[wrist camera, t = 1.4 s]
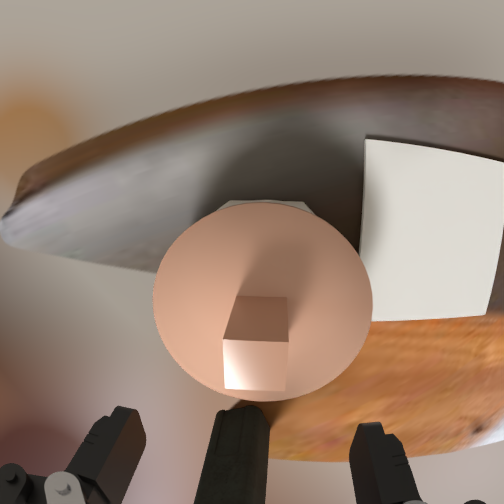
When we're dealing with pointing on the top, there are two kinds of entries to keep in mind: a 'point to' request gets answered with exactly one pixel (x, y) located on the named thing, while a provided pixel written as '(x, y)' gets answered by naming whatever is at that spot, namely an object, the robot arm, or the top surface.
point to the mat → (430, 230)
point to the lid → (262, 301)
